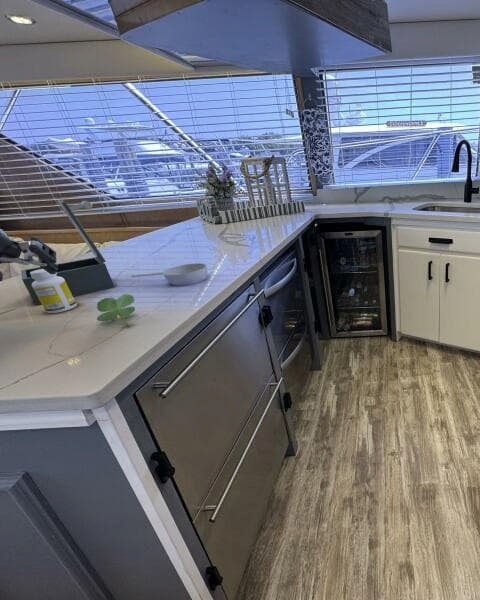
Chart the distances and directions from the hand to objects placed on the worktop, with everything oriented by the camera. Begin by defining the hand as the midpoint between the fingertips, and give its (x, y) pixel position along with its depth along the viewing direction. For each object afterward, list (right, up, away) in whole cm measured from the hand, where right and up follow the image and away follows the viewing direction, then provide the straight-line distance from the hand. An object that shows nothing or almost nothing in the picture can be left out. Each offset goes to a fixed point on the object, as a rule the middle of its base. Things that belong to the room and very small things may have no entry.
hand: (27, 274), depth 68 cm
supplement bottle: (-2, -8, +9) cm, 12 cm away
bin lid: (-8, +13, +19) cm, 24 cm away
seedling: (+19, -11, 0) cm, 22 cm away
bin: (-11, -3, +21) cm, 24 cm away
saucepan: (+14, -1, +24) cm, 28 cm away
